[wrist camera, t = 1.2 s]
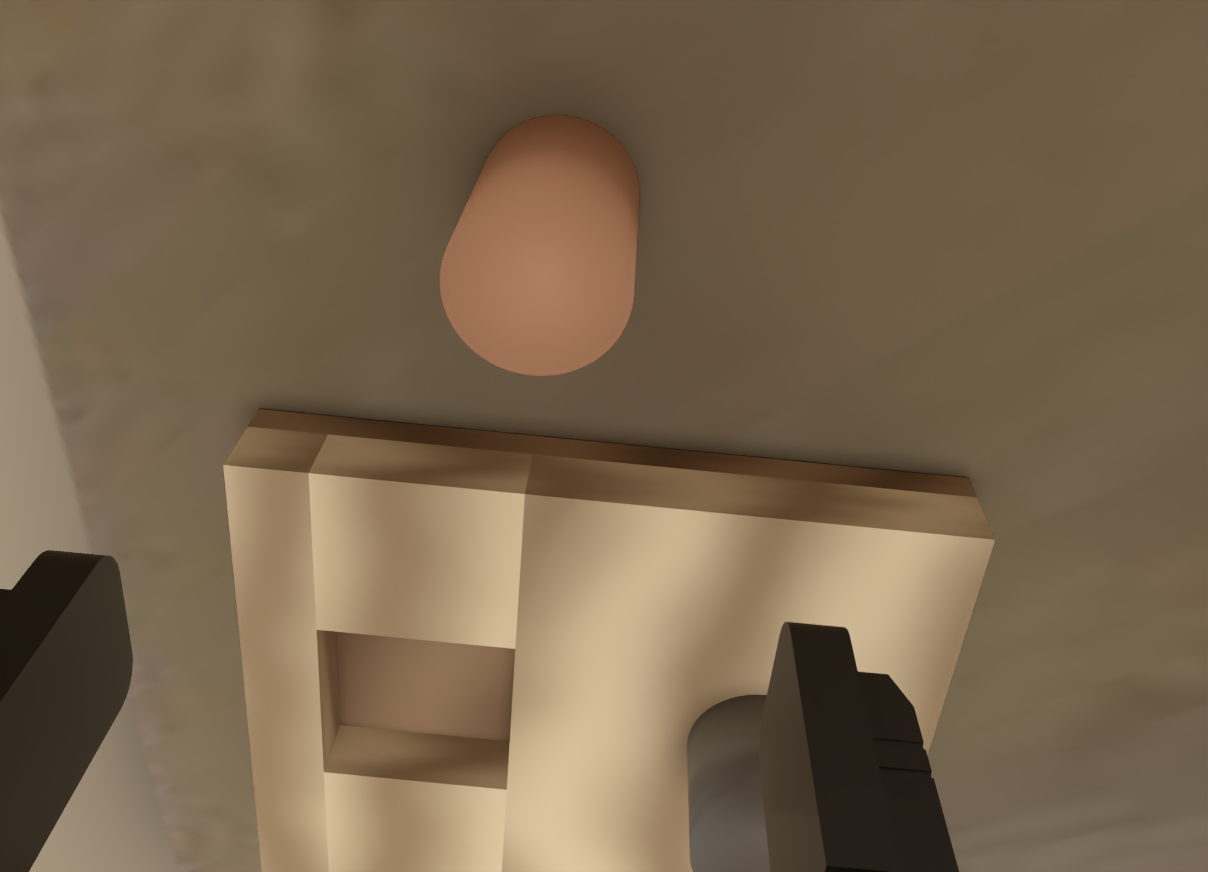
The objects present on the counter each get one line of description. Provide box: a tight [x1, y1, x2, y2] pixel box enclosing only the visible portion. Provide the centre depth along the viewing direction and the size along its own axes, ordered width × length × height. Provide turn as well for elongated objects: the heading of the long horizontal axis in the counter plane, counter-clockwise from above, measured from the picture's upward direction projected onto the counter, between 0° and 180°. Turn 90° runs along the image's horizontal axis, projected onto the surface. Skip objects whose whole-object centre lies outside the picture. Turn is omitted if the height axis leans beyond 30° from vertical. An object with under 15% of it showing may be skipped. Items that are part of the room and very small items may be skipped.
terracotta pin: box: [440, 115, 640, 376], centre depth 26 cm, size 4×4×6 cm
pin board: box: [223, 409, 995, 872], centre depth 33 cm, size 20×16×7 cm
